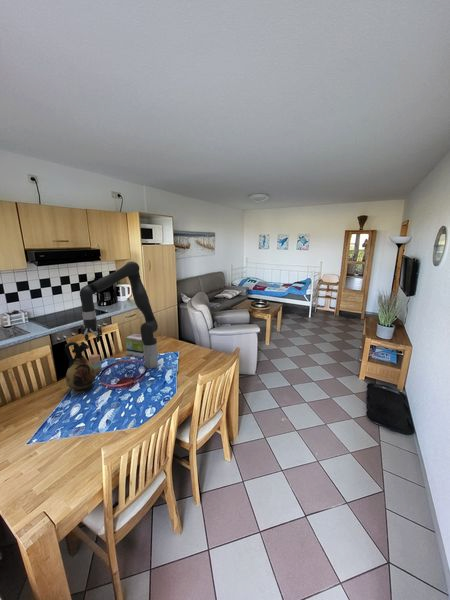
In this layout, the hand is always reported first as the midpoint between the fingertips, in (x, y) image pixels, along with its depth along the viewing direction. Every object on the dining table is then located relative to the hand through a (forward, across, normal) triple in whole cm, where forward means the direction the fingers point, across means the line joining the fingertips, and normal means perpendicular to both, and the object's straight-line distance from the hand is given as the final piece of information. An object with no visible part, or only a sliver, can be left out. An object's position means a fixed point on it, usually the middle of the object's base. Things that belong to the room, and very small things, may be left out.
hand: (92, 341), depth 159 cm
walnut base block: (+23, 0, 0) cm, 23 cm away
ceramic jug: (+23, -5, +18) cm, 30 cm away
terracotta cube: (+15, 0, 0) cm, 15 cm away
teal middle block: (+19, 0, 0) cm, 19 cm away
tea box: (+23, -10, -33) cm, 42 cm away
